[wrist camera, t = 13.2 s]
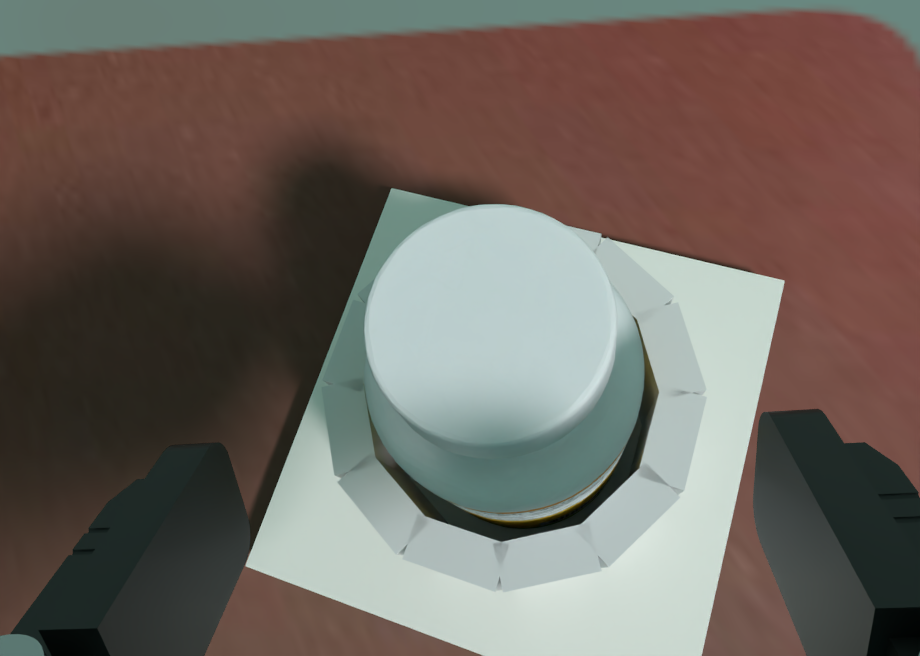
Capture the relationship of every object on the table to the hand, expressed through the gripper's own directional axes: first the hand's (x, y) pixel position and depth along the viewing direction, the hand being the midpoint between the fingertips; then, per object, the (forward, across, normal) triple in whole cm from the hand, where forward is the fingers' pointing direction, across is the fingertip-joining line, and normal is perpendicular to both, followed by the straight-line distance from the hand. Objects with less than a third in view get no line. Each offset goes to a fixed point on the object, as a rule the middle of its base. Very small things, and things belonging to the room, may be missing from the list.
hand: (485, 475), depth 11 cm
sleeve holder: (+9, 0, +5) cm, 10 cm away
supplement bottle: (+8, 0, +5) cm, 10 cm away
